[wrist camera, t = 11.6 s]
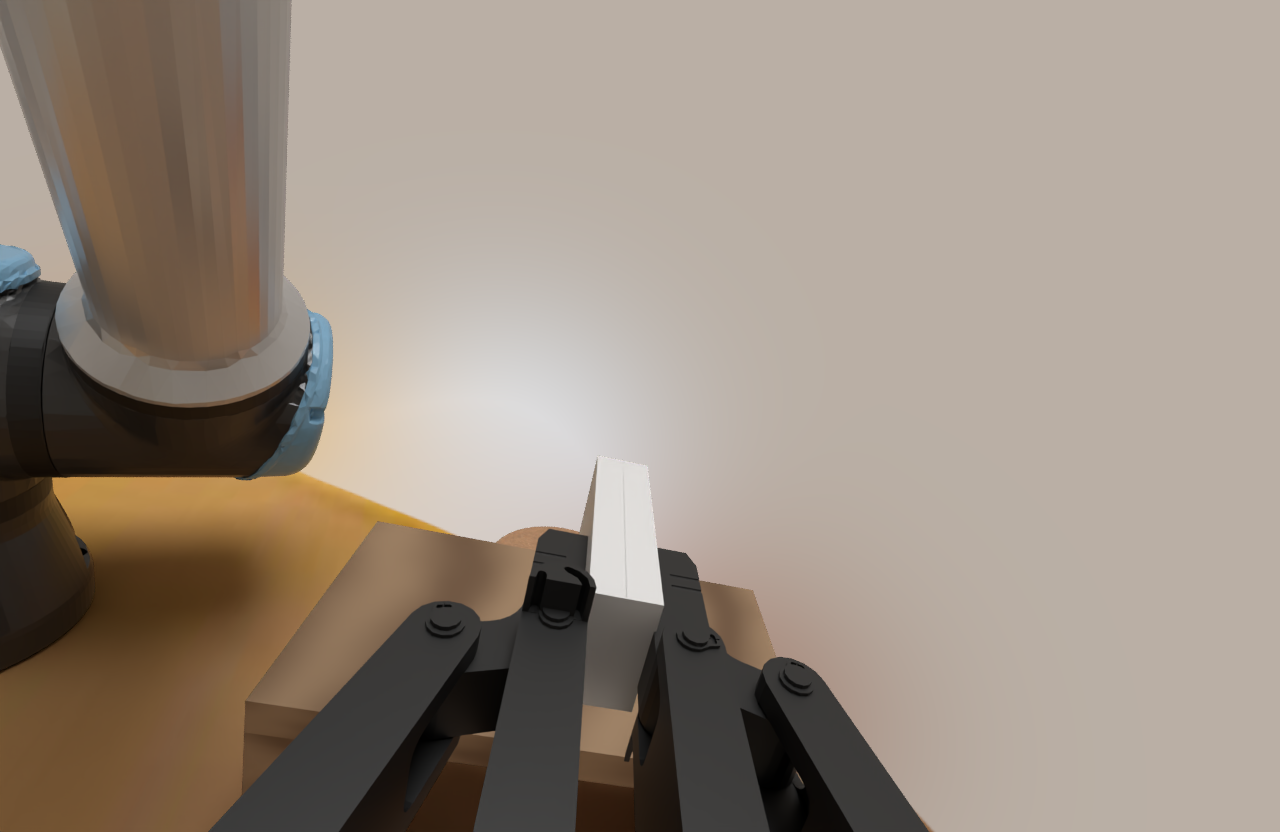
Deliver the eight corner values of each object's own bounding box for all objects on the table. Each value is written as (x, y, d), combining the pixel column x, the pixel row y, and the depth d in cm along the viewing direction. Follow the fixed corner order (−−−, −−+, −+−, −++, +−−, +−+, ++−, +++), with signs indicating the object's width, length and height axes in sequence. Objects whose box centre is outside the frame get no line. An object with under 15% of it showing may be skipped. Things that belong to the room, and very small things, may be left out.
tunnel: (235, 959, 27) (245, 700, 22) (355, 719, 39) (377, 521, 34) (721, 1009, 29) (821, 786, 24) (690, 769, 41) (752, 590, 37)
